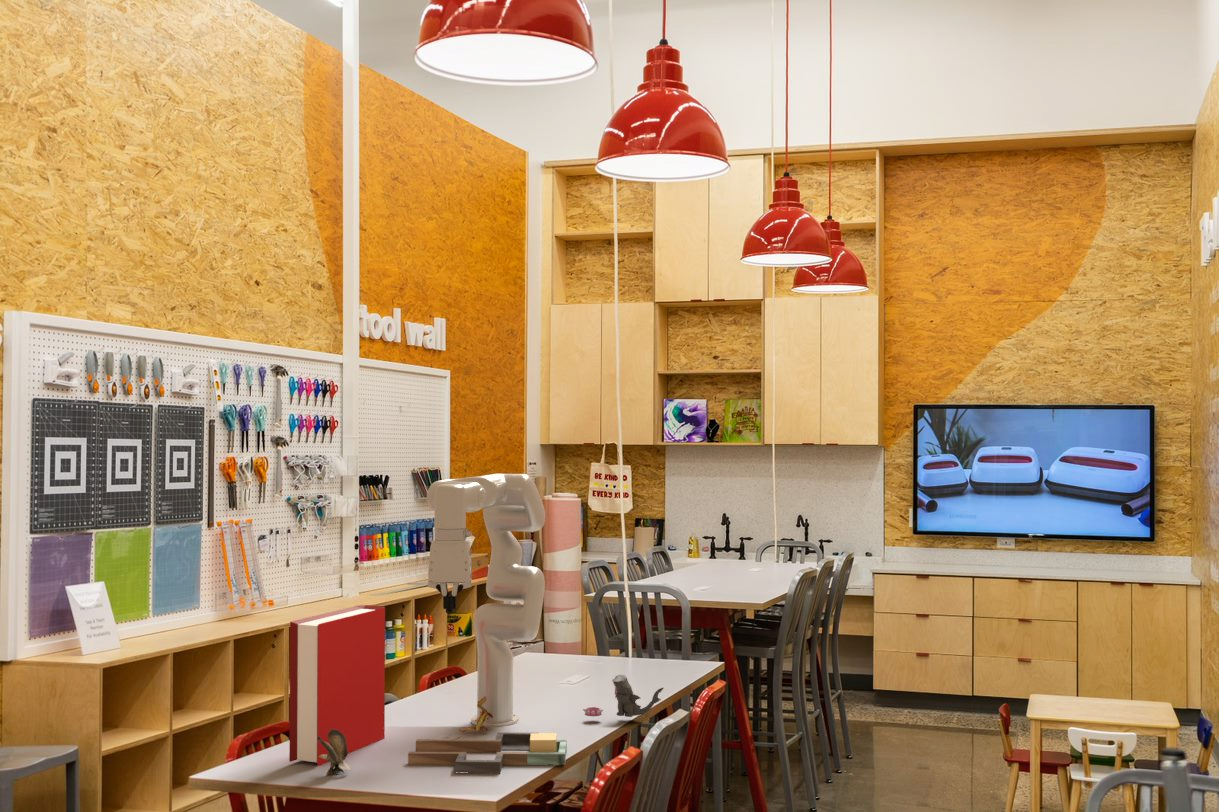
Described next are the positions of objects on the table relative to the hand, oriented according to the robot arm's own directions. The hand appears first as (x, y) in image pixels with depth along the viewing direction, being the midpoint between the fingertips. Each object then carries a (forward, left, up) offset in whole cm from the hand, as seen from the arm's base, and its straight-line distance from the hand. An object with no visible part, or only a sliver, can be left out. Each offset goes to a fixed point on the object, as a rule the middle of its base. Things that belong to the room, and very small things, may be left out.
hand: (449, 611), depth 287 cm
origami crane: (-9, +6, -33) cm, 35 cm away
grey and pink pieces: (-30, +41, -32) cm, 61 cm away
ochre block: (+10, +23, -32) cm, 41 cm away
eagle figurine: (+23, -22, -32) cm, 45 cm away
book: (+3, -25, -32) cm, 41 cm away
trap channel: (+10, +8, -32) cm, 34 cm away
